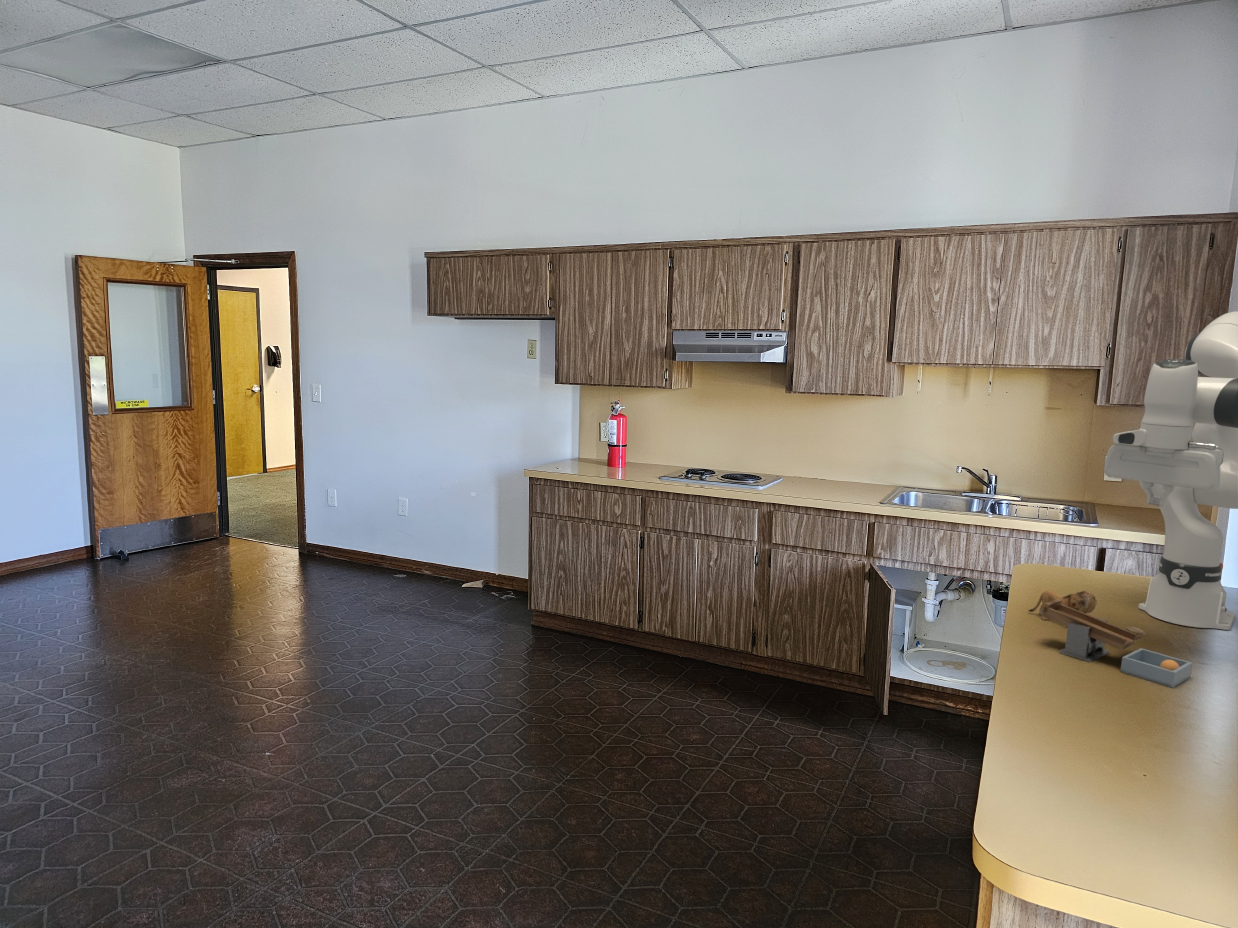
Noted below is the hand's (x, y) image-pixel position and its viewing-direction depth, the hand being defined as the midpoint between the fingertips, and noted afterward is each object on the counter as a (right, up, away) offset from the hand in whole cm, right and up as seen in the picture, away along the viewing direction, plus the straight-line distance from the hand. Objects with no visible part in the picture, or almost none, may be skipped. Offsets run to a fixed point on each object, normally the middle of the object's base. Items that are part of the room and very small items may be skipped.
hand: (1155, 505), depth 167 cm
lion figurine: (-9, -29, +20) cm, 36 cm away
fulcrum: (-15, -31, +1) cm, 34 cm away
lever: (-12, -26, +2) cm, 28 cm away
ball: (-5, -31, -12) cm, 33 cm away
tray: (-7, -33, -10) cm, 35 cm away
